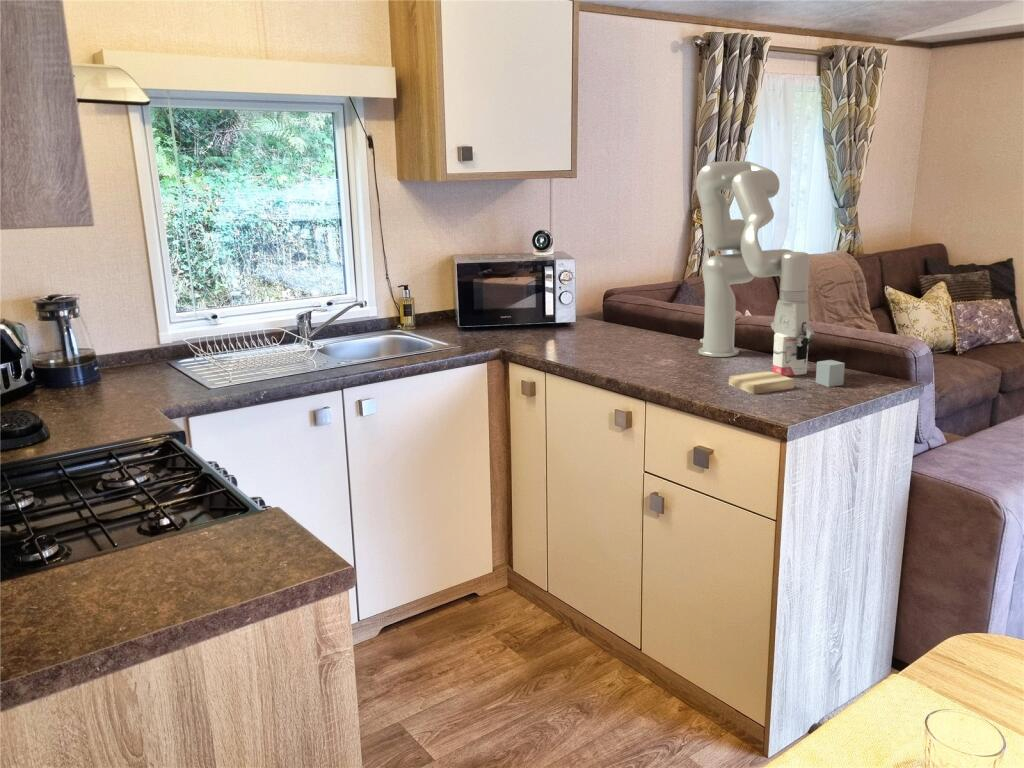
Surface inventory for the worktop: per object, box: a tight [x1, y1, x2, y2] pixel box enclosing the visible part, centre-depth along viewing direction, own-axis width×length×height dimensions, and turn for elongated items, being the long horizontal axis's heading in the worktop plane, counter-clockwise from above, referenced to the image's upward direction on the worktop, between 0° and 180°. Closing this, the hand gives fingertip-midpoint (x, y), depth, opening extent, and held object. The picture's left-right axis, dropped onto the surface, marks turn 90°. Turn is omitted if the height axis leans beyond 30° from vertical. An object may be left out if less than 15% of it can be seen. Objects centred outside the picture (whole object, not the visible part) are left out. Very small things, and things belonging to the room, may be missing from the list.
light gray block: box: [815, 359, 845, 388], centre depth 218 cm, size 5×5×6 cm
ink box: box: [772, 333, 809, 377], centre depth 229 cm, size 9×5×12 cm, turn 105°
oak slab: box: [728, 370, 795, 395], centre depth 218 cm, size 11×13×3 cm
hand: (790, 356), depth 229 cm, fingers open, 8 cm apart
